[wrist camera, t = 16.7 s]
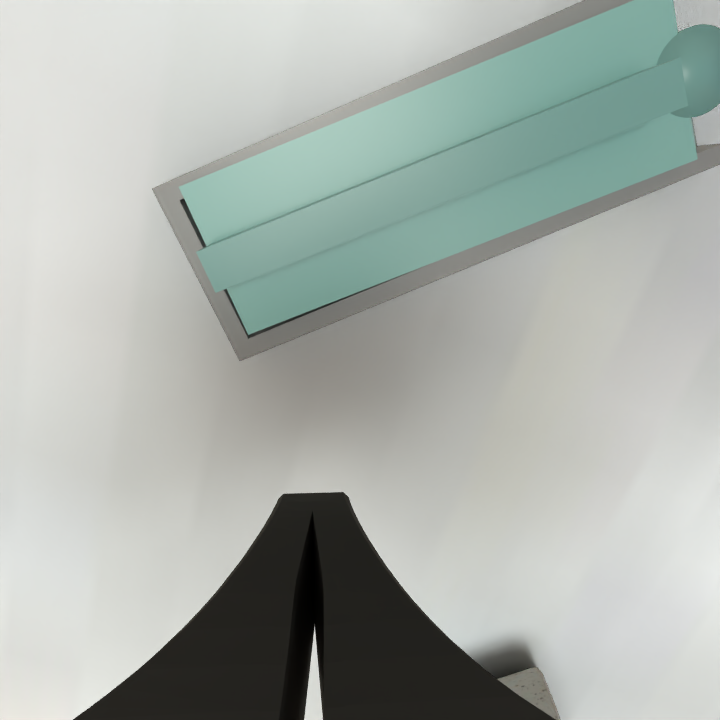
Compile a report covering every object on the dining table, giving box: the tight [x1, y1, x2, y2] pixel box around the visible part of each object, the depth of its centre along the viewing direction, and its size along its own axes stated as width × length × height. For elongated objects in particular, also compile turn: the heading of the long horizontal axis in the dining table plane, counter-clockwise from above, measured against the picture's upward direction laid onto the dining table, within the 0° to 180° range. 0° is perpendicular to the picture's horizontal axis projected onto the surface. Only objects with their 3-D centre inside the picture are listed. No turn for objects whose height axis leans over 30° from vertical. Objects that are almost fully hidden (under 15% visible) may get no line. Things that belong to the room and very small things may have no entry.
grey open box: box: [152, 0, 720, 361], centre depth 18 cm, size 17×6×2 cm, turn 112°
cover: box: [179, 0, 720, 335], centre depth 15 cm, size 16×5×2 cm, turn 111°
